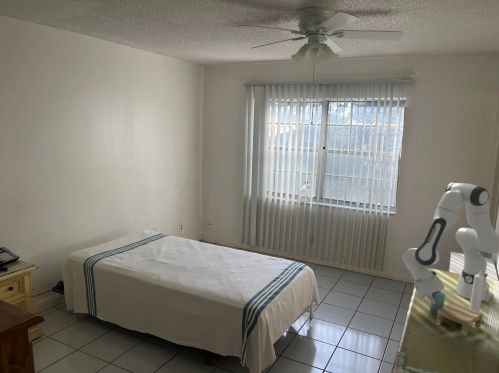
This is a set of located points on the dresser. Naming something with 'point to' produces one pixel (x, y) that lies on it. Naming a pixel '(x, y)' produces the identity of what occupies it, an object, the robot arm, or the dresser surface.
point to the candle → (477, 292)
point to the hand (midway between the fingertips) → (438, 301)
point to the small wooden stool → (460, 316)
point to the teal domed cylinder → (440, 302)
